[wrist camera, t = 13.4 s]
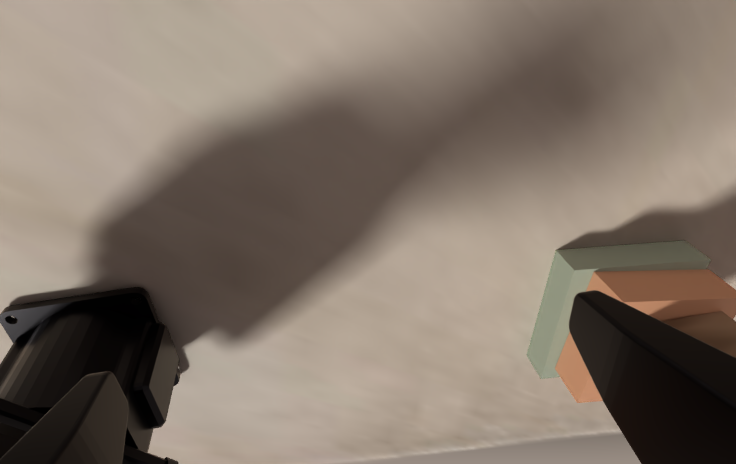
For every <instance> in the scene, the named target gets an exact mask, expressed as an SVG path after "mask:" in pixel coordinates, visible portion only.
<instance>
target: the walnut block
mask: <svg viewBox="0 0 736 464" xmlns="http://www.w3.org/2000/svg"><path fill="white" fill-rule="evenodd" d="M662 322H664V323H666V324H668V325H670V326H672V327H674V328H676V329H678V330H680V331H682V332H684V333H686V334H689V335H691V336H693V337H695V338H697V339H699V340H701V341H703V342H705V343H707V344H709V345H711V346H713V347H715V348H717V349H719V350H721V351H723V352H725V353H727V354H730V355H732V356H734V357H736V321H734V320H733V319H732V318H730V317H729V316H728V315H727V314H725V313H724V312H723V311H718V312H713V313H707V314H701V315H696V316H690V317H684V318H679V319H673V320H667V321H662Z"/></svg>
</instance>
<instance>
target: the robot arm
mask: <svg viewBox="0 0 736 464" xmlns="http://www.w3.org/2000/svg"><path fill="white" fill-rule="evenodd" d="M133 297H139V298H140V300H136V299H134V298H133ZM11 316H14V317H16V318H13V317H11ZM0 323H1V324H2V326H3V328H4V329H5V331H6V332H7V334H8V335H9V337H10V339H11V340H12V342H13V343H14V344H13V345H12V347H11V348H10V350H9V351H8V353H7V355H6V356H5V358H4V359H3V361H2V362H1V364H0V464H178V461H175V460H173V459H170V458H167V457H166V458H165V459H163V458H161V457H158V456H155V455H152V454H150V453H148V449H149V445H150V440H151V436H152V432H153V428H159V427H162V425H163V424H164V423H165V421H166V418H167V413H168V408H169V404H170V399H171V395H172V390H173V386H175V385H176V384H178V382H179V379H180V372H179V369H178V363H179V357H178V355H177V352H176V350H175V347H174V345H173V342H172V340H171V337H170V334H169V332H168V329H167V327H166V325H164V324H163V323H162V322H160V321H159V319H158V316H157V314H156V311H155V309H154V306H153V304H152V301H151V299H150V296H149V294H148V292H147V291H146V290H144V289H143V288H139V287H134V288H127V289H120V290H114V291H107V292H100V293H94V294H87V295H81V296H74V297H67V298H61V299H54V300H47V301H41V302H34V303H27V304H21V305H14V306H9V307H6V308H5V309H4V310H3V311H2V313H1V314H0ZM569 330H570V334H571V336H572V338H573V340H574V342H575V344H576V347H577V349H578V351H579V353H580V355H581V357H582V359H583V361H584V363H585V365H586V367H587V369H588V371H589V374H590V376H591V378H592V380H593V382H594V384H595V386H596V388H597V390H598V392H599V394H600V396H601V398H602V400H603V402H604V403H605V405H606V407H607V408H608V410H609V412H610V413H611V415H612V417H613V418H614V420H615V422H616V423H617V425H618V426H619V428H620V430H621V431H622V433H623V435H624V436H625V438H626V439H627V441H628V443H629V444H630V446H631V447H632V449H633V451H634V452H635V454H636V455H637V457H638V459H639V460H640V462H641V464H736V357H734V356H732V355H730V354H727V353H725V352H723V351H721V350H719V349H717V348H715V347H713V346H711V345H709V344H707V343H705V342H703V341H701V340H699V339H697V338H695V337H693V336H691V335H689V334H686V333H684V332H682V331H680V330H678V329H676V328H674V327H672V326H670V325H668V324H666V323H664V322H662V321H660V320H658V319H656V318H654V317H652V316H650V315H648V314H645V313H643V312H641V311H639V310H637V309H635V308H633V307H631V306H629V305H627V304H625V303H623V302H621V301H619V300H617V299H615V298H613V297H611V296H609V295H606V294H604V293H602V292H600V291H597V290H592V291H586V292H580V293H578V294H576V296H575V297H574V301H573V305H572V310H571V315H570V319H569Z"/></svg>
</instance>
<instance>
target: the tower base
mask: <svg viewBox="0 0 736 464" xmlns="http://www.w3.org/2000/svg"><path fill="white" fill-rule="evenodd" d="M710 261H711V259H710V258H708V257H707V256H706V255H704V254H703V253H701V252H700V251H699V250H697V249H696V248H695V247H693V246H692V245H691V244H689V243H688V242H687V241H685V240H682V241H669V242H655V243H642V244H629V245H616V246H602V247H589V248H576V249H563V250H556V251H555V255H554V259H553V262H552V266H551V269H550V273H549V277H548V280H547V284H546V287H545V291H544V295H543V298H542V302H541V305H540V309H539V313H538V316H537V320H536V323H535V327H534V331H533V334H532V338H531V341H530V345H529V348H528V352H527V357H528V359H529V360H530V362H531V364H532V365H533V367H534V369H535V370H536V372H537V374H538V375H539V377H540V379H545V378H554V377H560V376H559V374H558V373H557V371H556V370H555V367H556V364H557V362H558V359H559V357H560V354H561V352H562V349H563V347H564V344H565V342H566V339H567V337H568V334H569V332H570V330H569V319H570V315H571V310H572V305H573V301H574V297H575V296H576V294H578V293H580V292H586V290H587V287H588V285H589V282H590V280H591V277H592V275H593V272H602V271H648V270H699V269H707V267H708V265H709V263H710Z"/></svg>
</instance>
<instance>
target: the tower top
mask: <svg viewBox="0 0 736 464" xmlns="http://www.w3.org/2000/svg"><path fill="white" fill-rule="evenodd" d="M592 290H597V291H600V292H602V293H604V294H606V295H609V296H611V297H613V298H615V299H617V300H619V301H621V302H623V303H625V304H627V305H629V306H631V307H633V308H635V309H637V310H639V311H641V312H643V313H645V314H648V315H650V316H652V317H654V318H656V319H658V320H660V321H667V320H673V319H679V318H684V317H690V316H696V315H701V314H707V313H713V312H718V311H723V312H724V313H725V314H727V315H728V316H729V317H730V318H732V319H733V318H734V317H735V315H736V290H735V289H734V288H733V287H731V286H730V285H729V284H727V283H726V282H725V281H723V280H722V279H721V278H719V277H718V276H717V275H715V274H714V273H713V272H711V271H710V270H709V269H699V270H648V271H602V272H593V275H592V277H591V280H590V282H589V285H588V287H587V290H586V291H592ZM555 370H556V371H557V373H558V374H559V376H560V377H561V379H562V380H563V382H564V383H565V385H566V386H567V388H568V390H569V391H570V393H571V394H572V396H573V397H574V399H575V400H576V402H577V403H582V402H594V401H603V400H602V398H601V396H600V394H599V392H598V390H597V388H596V386H595V384H594V382H593V380H592V378H591V376H590V374H589V371H588V369H587V367H586V365H585V363H584V361H583V359H582V357H581V355H580V353H579V351H578V349H577V347H576V344H575V342H574V340H573V338H572V336H571V334H570V332H569V334H568V337H567V339H566V342H565V344H564V347H563V349H562V352H561V354H560V357H559V359H558V362H557V364H556V367H555Z"/></svg>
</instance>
